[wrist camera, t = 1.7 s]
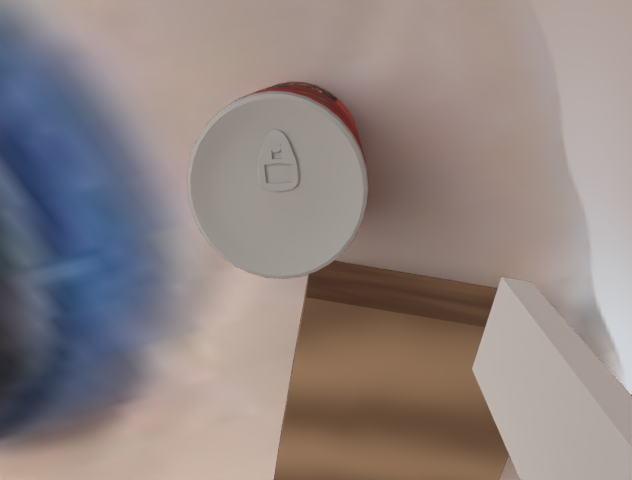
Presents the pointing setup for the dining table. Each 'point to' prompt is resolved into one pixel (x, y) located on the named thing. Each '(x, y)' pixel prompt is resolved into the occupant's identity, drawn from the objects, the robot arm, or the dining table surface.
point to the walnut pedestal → (388, 381)
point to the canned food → (279, 181)
